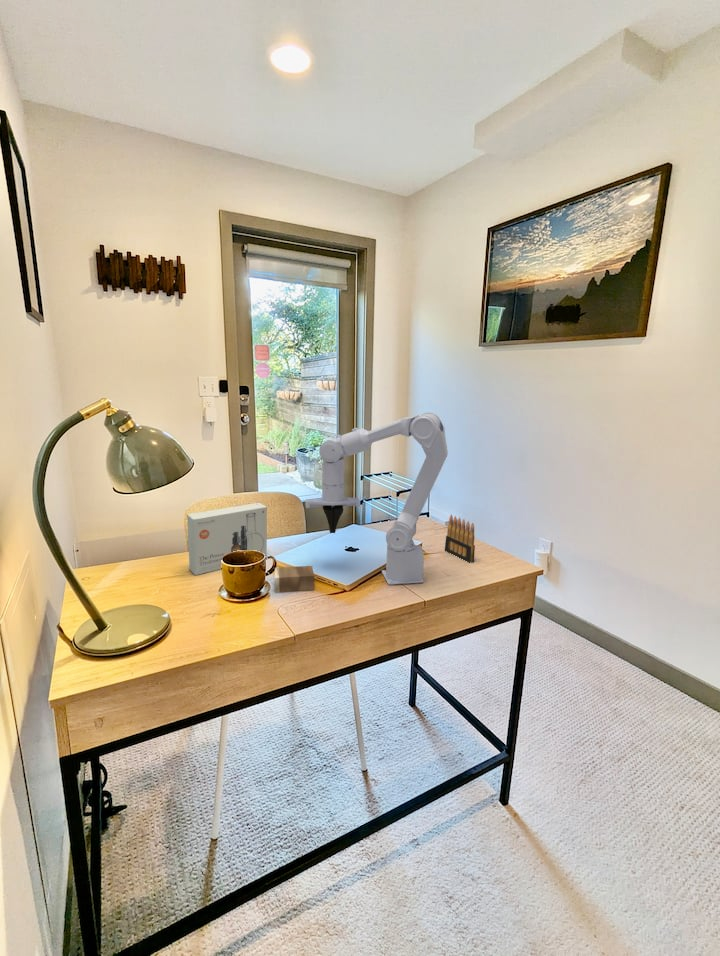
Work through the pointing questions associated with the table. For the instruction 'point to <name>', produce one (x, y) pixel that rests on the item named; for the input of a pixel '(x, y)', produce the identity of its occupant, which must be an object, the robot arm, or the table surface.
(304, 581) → the walnut block
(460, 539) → the ammunition clip
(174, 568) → the table surface
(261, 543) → the skincare box
